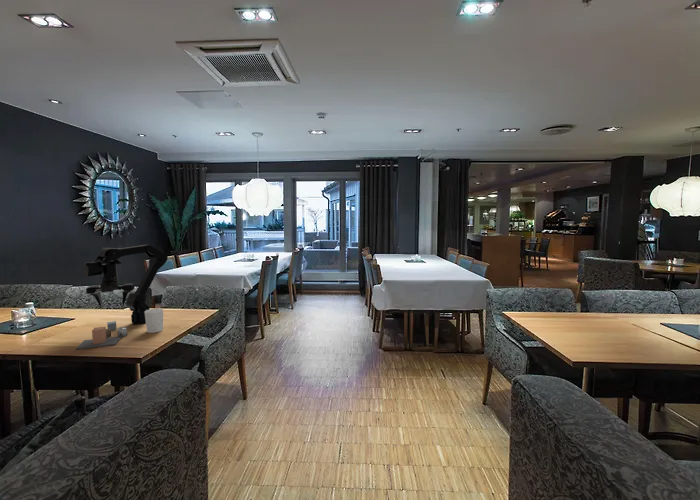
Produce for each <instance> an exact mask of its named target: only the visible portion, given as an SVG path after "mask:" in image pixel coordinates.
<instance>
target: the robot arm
mask: <svg viewBox="0 0 700 500" xmlns="http://www.w3.org/2000/svg"><path fill="white" fill-rule="evenodd" d="M137 254H145V255H146V256H147V257H148V258H149V260H148V267H147V269H146V271H145V273H144V275H143V277H142V279H141V280H140V283H139V285H138V286H137V288H136V290H135V284H134V283H128V282H127V283H124V284H123V285H120V283H119V281H118V276H119V275H118V268H117V265H121V264H122V261H119V259H121V258H122V257H126V256H131V255H137ZM168 260H169V259H168V254H167V253H165V252H162V251H161V250H159V249H158V248H155V247H154V246H152V245H150V244H141V245H133V246H127V247H122V248H120V247H117V248H115V247H103V248H101V249H100V250H99V252H98V255H97V257H96V258H95V260H94V261H91V262H84V263H83V266H82V270H81V272H82V276H83V277H84V278H90V277H92V278H94V277H99V276H100V277H101V276H102V281H101V282H100V285H99V284H98V285H97V284H96V285H89V286H88V287H86V288H85V294H86V295H89V296H93V297H94V299H95V300H96V302H97V304H98V305H99V307H100V308H101V307H103V306H102V305H103V303H102V302H103V301H102V294H101V293H103V294H104V293H112V292H114V290H115V291H119V290H123V291H122V292H121V293H122V299H121V301H122V303H121V304H122V306H124V305H126V307H127V308H128V309H129V310H130V312H132V314H131V315H130V316H131V317H130V318H131V324H132V325H142V324H146V321H145V311H146V310H149V309H151V308H150V306H149V305H148V304H146V301H147V293H148V291H149V289H150V287H151V285H152V283H153V282H154V279H155V277H156V275H157V273H158V272H159V270H160V269H161V268H162V267H163V266H165V264H166V262H167V261H168ZM134 290H135V291H134ZM132 291H134V292H132Z"/></svg>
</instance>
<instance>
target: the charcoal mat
mask: <svg viewBox="0 0 700 500" xmlns="http://www.w3.org/2000/svg"><path fill="white" fill-rule="evenodd" d="M121 339H122V337H121V336H118V335H117V336H111V337H109V338H106V341H105V342H104V343H98V344H93V338H92V339H85V340H82V342H81V343H80V344H79V345H78V346H77V347H76V350H77V351H78V350H84V349H86V350H87V349H94V348H102V347H110V346H116V345H117V344H118V343H119V341H120V340H121Z"/></svg>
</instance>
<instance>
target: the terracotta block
mask: <svg viewBox="0 0 700 500" xmlns="http://www.w3.org/2000/svg"><path fill="white" fill-rule="evenodd" d="M106 329H107V327H106V326H99V327H94V328H93V329H92V330H91V333H92V335H91V336H92V339H93V344H98V343H104V342H105V341H106Z"/></svg>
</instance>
